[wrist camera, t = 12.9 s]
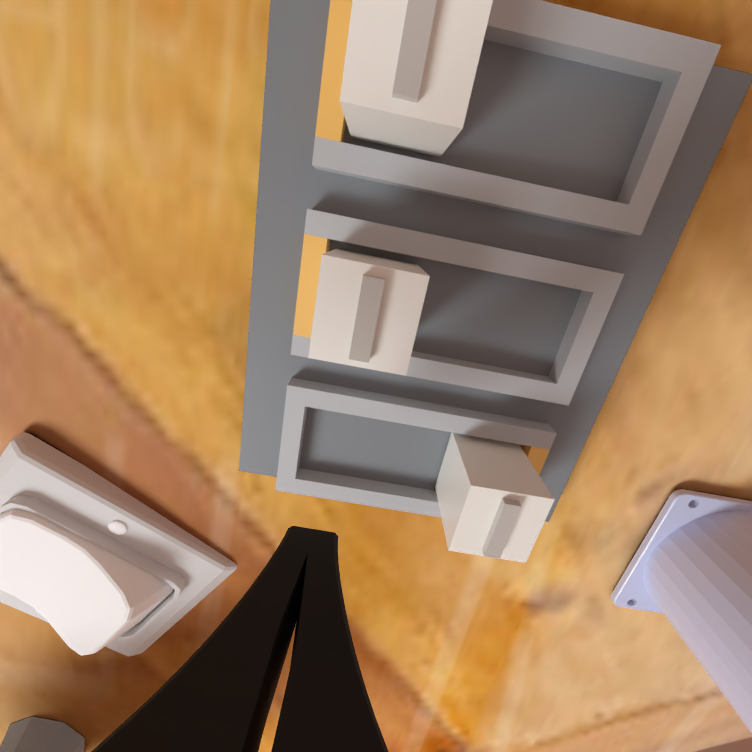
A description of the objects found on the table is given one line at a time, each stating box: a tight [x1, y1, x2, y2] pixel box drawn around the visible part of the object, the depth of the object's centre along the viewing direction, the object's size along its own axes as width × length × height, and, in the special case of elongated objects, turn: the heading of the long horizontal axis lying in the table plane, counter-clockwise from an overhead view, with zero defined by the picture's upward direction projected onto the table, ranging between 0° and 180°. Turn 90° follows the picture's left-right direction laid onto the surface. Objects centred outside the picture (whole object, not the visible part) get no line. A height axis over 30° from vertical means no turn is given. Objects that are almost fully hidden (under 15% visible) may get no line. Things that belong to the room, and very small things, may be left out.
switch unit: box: [239, 0, 752, 522], centre depth 15 cm, size 15×18×2 cm
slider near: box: [340, 0, 493, 157], centre depth 10 cm, size 3×3×4 cm
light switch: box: [0, 432, 238, 656], centre depth 20 cm, size 11×4×13 cm
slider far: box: [435, 432, 555, 563], centre depth 15 cm, size 3×3×4 cm
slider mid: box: [308, 249, 430, 376], centre depth 12 cm, size 3×3×4 cm
